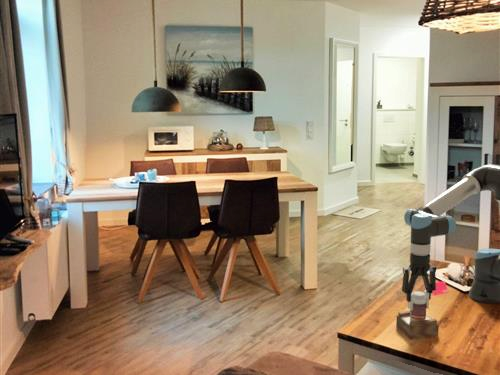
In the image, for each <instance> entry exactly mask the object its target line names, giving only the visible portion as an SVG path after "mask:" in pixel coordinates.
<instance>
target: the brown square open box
mask: <svg viewBox="0 0 500 375" xmlns="http://www.w3.org/2000/svg"><path fill="white" fill-rule="evenodd" d="M395 324H396V326H395V327H396V328H397V329H398V330H399V331H401V332H402V333H403V334H404V335H405V336H406V337H407V338H408V339H409V340H415V339H416V340H417V339H424V338H425V339H427V338H434V337H439V328H440V327H439V325H440V324H439V323H438V320H437V319H436V318H431V317H430V316H428V315H427V314H426V320H421V321H413V320H411V319H410V310H408V311H399V312H398V314H397V315H396V323H395Z"/></svg>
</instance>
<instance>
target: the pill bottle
mask: <svg viewBox="0 0 500 375" xmlns="http://www.w3.org/2000/svg"><path fill="white" fill-rule="evenodd" d="M412 294H413V310H410V309H409V311H410V319H411V320H413V321H421V320H426V315H427V308H426V299H425V298H424V297H425V293H424V291H418V290H417V291H412Z"/></svg>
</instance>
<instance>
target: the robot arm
mask: <svg viewBox="0 0 500 375" xmlns="http://www.w3.org/2000/svg"><path fill="white" fill-rule="evenodd" d="M483 191H489V192H493V193H494V196H493V197H494V200H495V201H496V202H498V210H499V212H498V213H499V214H500V164H495V163H492V164H491V163H490V164H483V165H482V166H479V167H477V168H474V169H473V170H471V171H469V172H467V173H466V174H465V175H463V176H462V178H461V180H460V181H458V182H456V183H455V184H454V185H452V186H451V187H449V188H447V189H446V190H445V191H443V192H441V193H440V194H438V195H437V196H435V197H434V198H433V199H431V200H430V201H428V202H427V203H425V204H423V205H422V206H421V207H418V208H409V209H407V210H406V211H405V213H404V217H403V219H404V220H403V221H404V223H405V224H406V225H408V226H409V227H410V253H409V262H410V264H409V266H408V267H406V268H405V267H403V268H402V273H403V275H402V286H401V291H402V293H404V294H406V298H405V299H406V301H407V309H409V311H410V310H413V292H414V291H413V290H414V287H415V284H416V282H417V279H418V278H419V277H422V281H423V284H424V288H425V290H424V291H423V293H425V297H424V298H425V299H426V310H427V309H428V310H429V306H430V305H429V304H430V300H431V298H432V293H434V291H436V290H437V288H436V287H437V285H436V284H437V283H436V281H437V280H436V272H437V267H436V266H434V265H433V264H432V265H430V263H431V254H430V253H431V242H432V238H433V237H442V236H448V235H451V234H453V233H455V231H456V229H457V222H456V220H455V218H454V217H453V216H451V215H444V214H445V213H447V212H448V211H449V210H451V209H453V208H454V207H455V206H457V205H459V204H460V203H462V202H463V201H464V200H466V199H467V198H469V197H470V196H472V195H478V194H479V193H480V192H483ZM428 271H429V272H428ZM410 272H411V273H410ZM428 274H429V275H428ZM473 274H474V275H473V276H474V277H473V282H472V283H471V286H470V289H469V292H468V296H469V298H470V299H472V300H474V301H476V302H479V303H485V304H499V303H500V249H498V248H481V249H478V250H477V251H476V252H475V257H474V273H473Z"/></svg>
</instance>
